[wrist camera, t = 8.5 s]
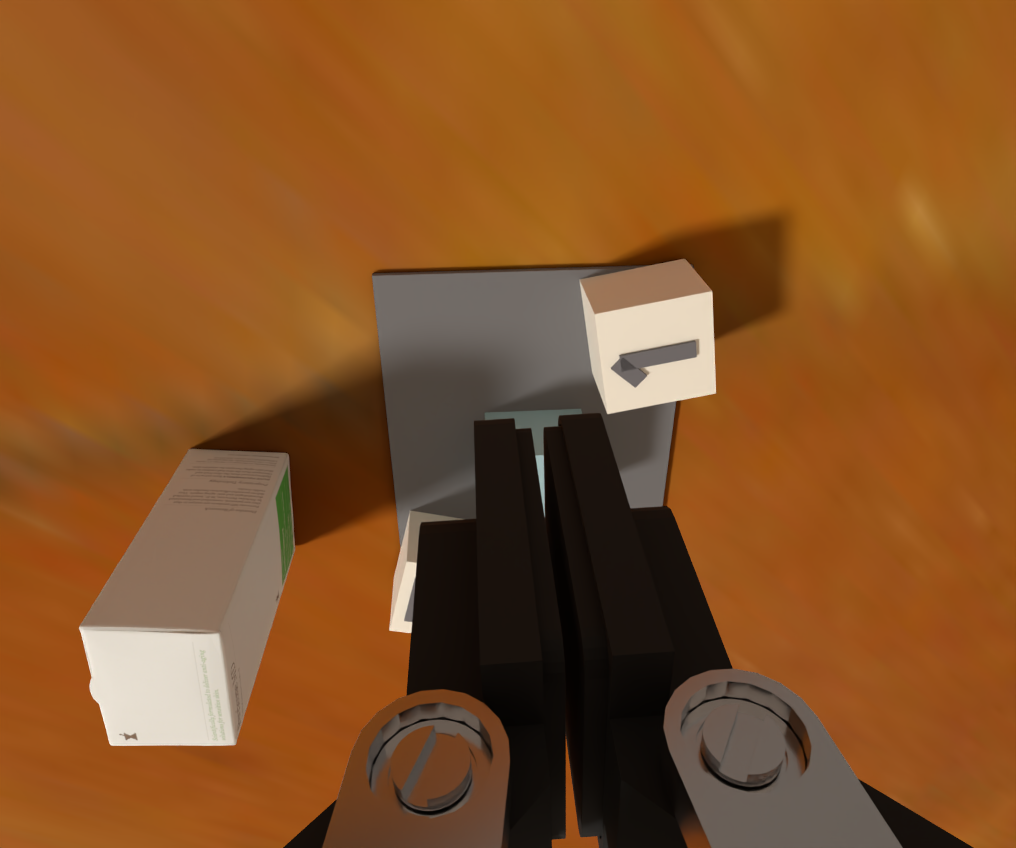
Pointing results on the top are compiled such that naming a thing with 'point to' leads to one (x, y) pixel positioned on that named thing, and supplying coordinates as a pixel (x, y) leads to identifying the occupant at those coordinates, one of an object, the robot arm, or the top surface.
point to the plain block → (535, 431)
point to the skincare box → (193, 602)
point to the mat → (494, 378)
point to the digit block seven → (408, 572)
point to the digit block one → (650, 335)
